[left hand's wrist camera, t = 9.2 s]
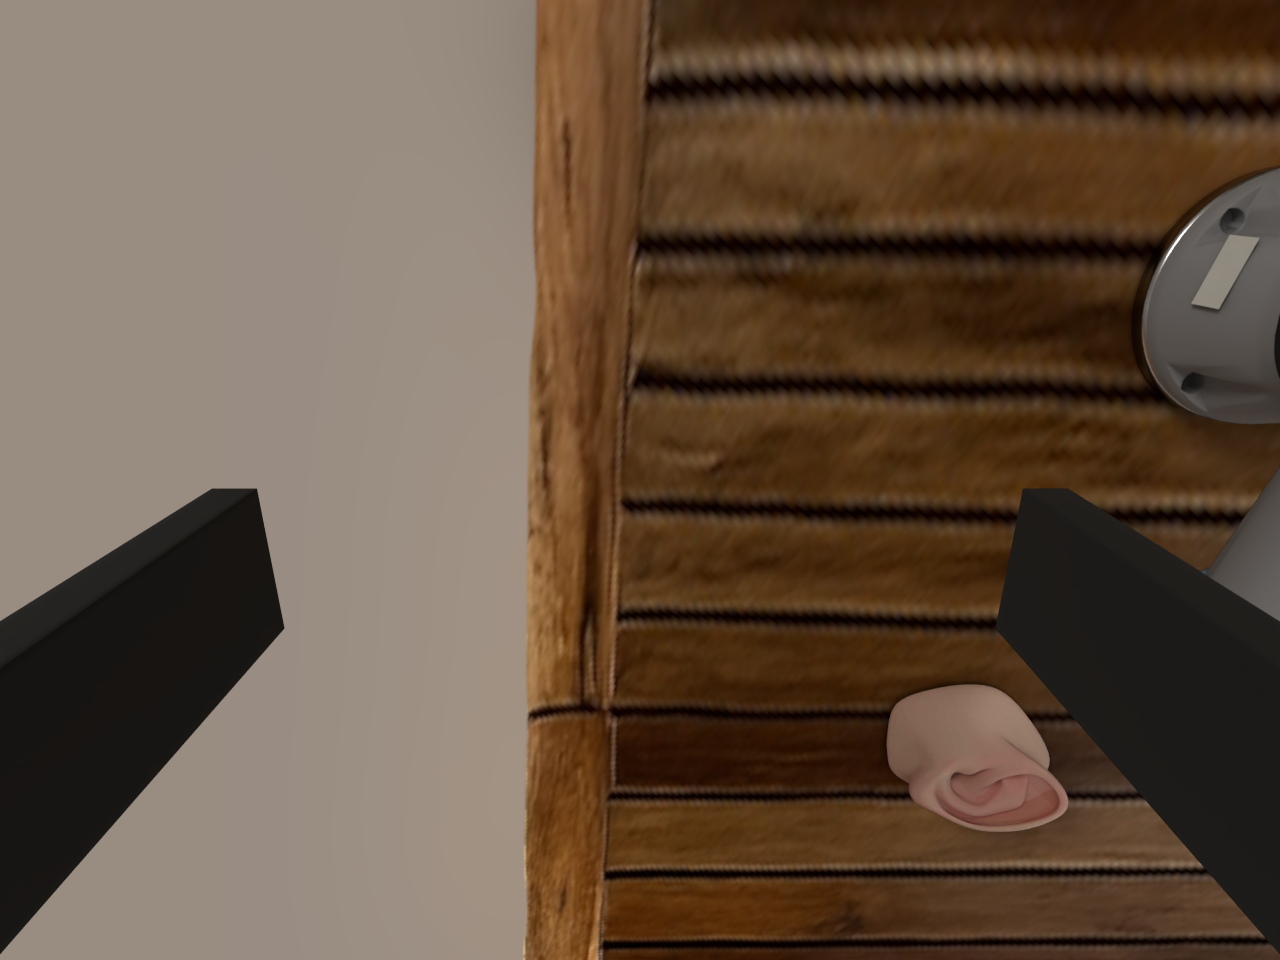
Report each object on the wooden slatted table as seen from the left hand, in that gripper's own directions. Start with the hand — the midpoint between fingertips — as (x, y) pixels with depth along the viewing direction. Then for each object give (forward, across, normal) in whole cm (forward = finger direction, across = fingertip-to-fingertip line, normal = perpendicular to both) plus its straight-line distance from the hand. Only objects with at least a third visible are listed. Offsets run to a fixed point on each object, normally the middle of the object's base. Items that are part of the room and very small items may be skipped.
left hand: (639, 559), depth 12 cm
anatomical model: (+34, +25, -33) cm, 54 cm away
